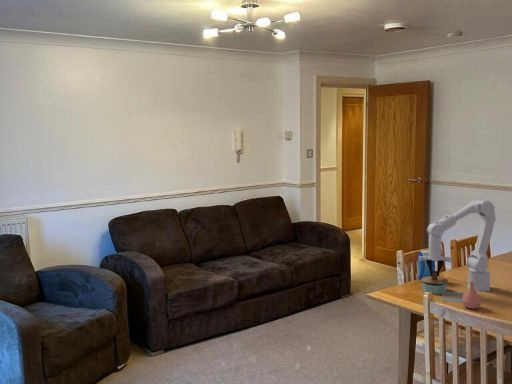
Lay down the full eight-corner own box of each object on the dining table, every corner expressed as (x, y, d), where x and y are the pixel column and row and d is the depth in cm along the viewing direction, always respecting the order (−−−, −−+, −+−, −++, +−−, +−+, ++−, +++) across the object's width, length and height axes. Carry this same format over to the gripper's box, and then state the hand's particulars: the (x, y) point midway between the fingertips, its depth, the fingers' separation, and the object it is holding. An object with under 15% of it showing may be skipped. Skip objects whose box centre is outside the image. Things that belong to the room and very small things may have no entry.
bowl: (445, 288, 248) (445, 279, 247) (447, 295, 237) (447, 286, 237) (421, 286, 251) (422, 278, 250) (423, 294, 240) (423, 285, 240)
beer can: (435, 284, 254) (436, 253, 252) (418, 283, 256) (418, 253, 254) (433, 279, 262) (433, 249, 260) (416, 278, 264) (417, 249, 262)
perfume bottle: (474, 304, 225) (474, 278, 223) (484, 310, 217) (485, 283, 216) (458, 306, 223) (458, 280, 222) (468, 312, 216) (468, 285, 214)
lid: (445, 278, 248) (445, 268, 247) (449, 284, 236) (449, 274, 236) (420, 277, 250) (420, 268, 250) (423, 283, 238) (423, 273, 238)
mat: (472, 293, 239) (472, 292, 238) (476, 304, 225) (476, 303, 225) (441, 292, 242) (441, 291, 242) (443, 302, 229) (443, 301, 229)
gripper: (419, 249, 239) (419, 277, 241) (451, 250, 235) (451, 278, 237) (418, 246, 246) (418, 272, 248) (450, 247, 242) (449, 274, 244)
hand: (434, 275), depth 243 cm, fingers closed on lid, 3 cm apart
